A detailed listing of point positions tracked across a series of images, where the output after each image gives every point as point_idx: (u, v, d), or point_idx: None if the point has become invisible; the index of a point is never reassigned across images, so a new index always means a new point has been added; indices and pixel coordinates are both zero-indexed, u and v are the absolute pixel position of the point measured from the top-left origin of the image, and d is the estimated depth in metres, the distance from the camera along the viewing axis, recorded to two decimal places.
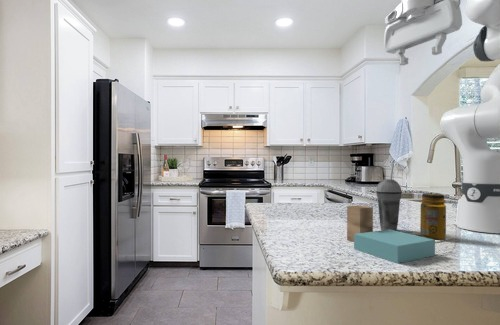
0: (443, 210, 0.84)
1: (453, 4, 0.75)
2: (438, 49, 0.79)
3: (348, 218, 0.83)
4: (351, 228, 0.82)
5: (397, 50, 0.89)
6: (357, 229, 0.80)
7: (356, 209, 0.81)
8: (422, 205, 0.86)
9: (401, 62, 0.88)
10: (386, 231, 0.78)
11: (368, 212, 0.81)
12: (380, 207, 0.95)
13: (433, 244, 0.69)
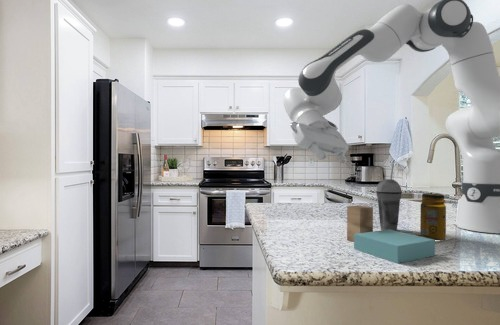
0: (443, 210, 0.84)
1: (293, 133, 0.91)
2: (318, 156, 0.88)
3: (348, 218, 0.83)
4: (351, 228, 0.82)
5: None
6: (358, 229, 0.80)
7: (356, 209, 0.81)
8: (422, 205, 0.86)
9: None
10: (386, 231, 0.78)
11: (368, 212, 0.81)
12: (380, 207, 0.95)
13: (433, 244, 0.69)
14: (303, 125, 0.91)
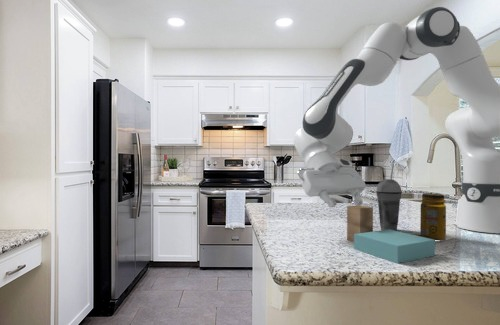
0: (443, 210, 0.84)
1: (301, 181, 0.90)
2: (329, 204, 0.85)
3: (348, 218, 0.83)
4: (351, 228, 0.82)
5: None
6: (358, 229, 0.80)
7: (356, 209, 0.81)
8: (422, 205, 0.86)
9: None
10: (386, 231, 0.78)
11: (368, 212, 0.81)
12: (380, 207, 0.95)
13: (433, 244, 0.69)
14: (311, 172, 0.89)
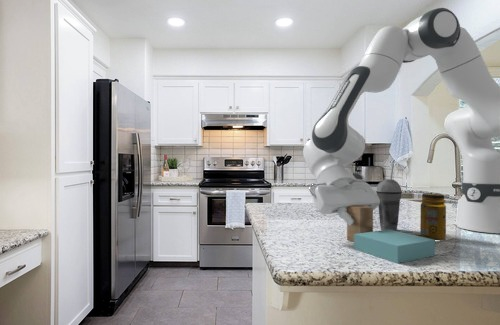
0: (443, 210, 0.84)
1: (312, 197, 0.85)
2: (348, 222, 0.81)
3: None
4: (351, 228, 0.82)
5: None
6: (358, 229, 0.80)
7: (356, 209, 0.81)
8: (422, 205, 0.86)
9: None
10: (386, 231, 0.78)
11: (368, 212, 0.81)
12: (380, 207, 0.95)
13: (433, 244, 0.69)
14: (323, 187, 0.85)
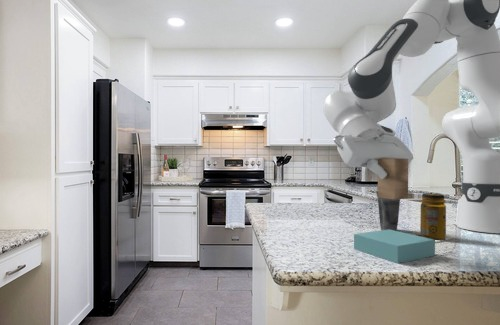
0: (443, 210, 0.84)
1: (338, 149, 0.75)
2: (380, 175, 0.71)
3: None
4: (383, 183, 0.72)
5: None
6: (391, 183, 0.70)
7: (390, 160, 0.70)
8: (422, 205, 0.86)
9: None
10: (386, 231, 0.78)
11: (403, 164, 0.71)
12: (380, 207, 0.95)
13: (433, 244, 0.69)
14: (350, 138, 0.74)
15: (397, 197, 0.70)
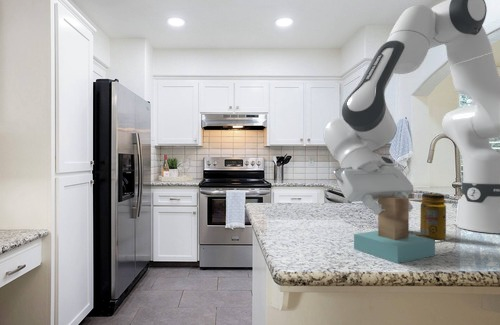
0: (443, 210, 0.84)
1: (338, 183, 0.75)
2: (375, 211, 0.70)
3: None
4: (383, 222, 0.72)
5: None
6: (392, 223, 0.70)
7: (390, 200, 0.70)
8: (422, 205, 0.86)
9: None
10: None
11: (403, 204, 0.71)
12: None
13: (433, 244, 0.69)
14: (350, 171, 0.74)
15: (397, 237, 0.70)
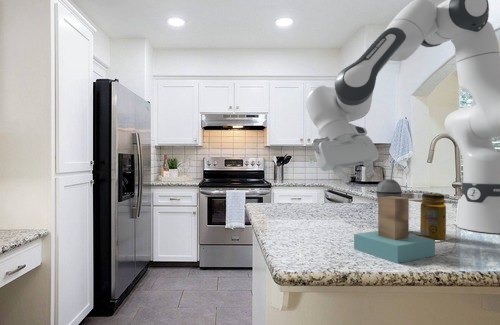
0: (443, 210, 0.84)
1: (315, 153, 0.85)
2: (343, 180, 0.83)
3: (379, 211, 0.73)
4: (383, 222, 0.72)
5: None
6: (392, 223, 0.70)
7: (390, 200, 0.70)
8: (422, 205, 0.86)
9: None
10: None
11: (403, 204, 0.71)
12: None
13: (433, 244, 0.69)
14: (326, 144, 0.84)
15: (397, 237, 0.70)
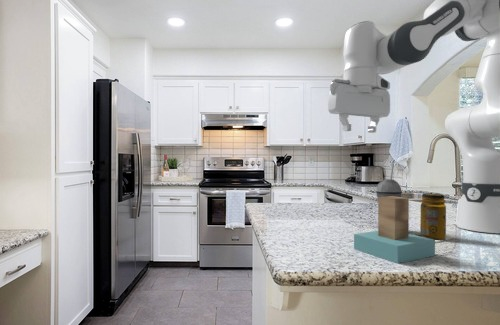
0: (443, 210, 0.84)
1: (330, 93, 0.85)
2: (343, 127, 0.86)
3: (379, 211, 0.73)
4: (383, 222, 0.72)
5: None
6: (392, 223, 0.70)
7: (390, 200, 0.70)
8: (422, 205, 0.86)
9: None
10: None
11: (403, 204, 0.71)
12: None
13: (433, 244, 0.69)
14: (344, 88, 0.83)
15: (397, 237, 0.70)
